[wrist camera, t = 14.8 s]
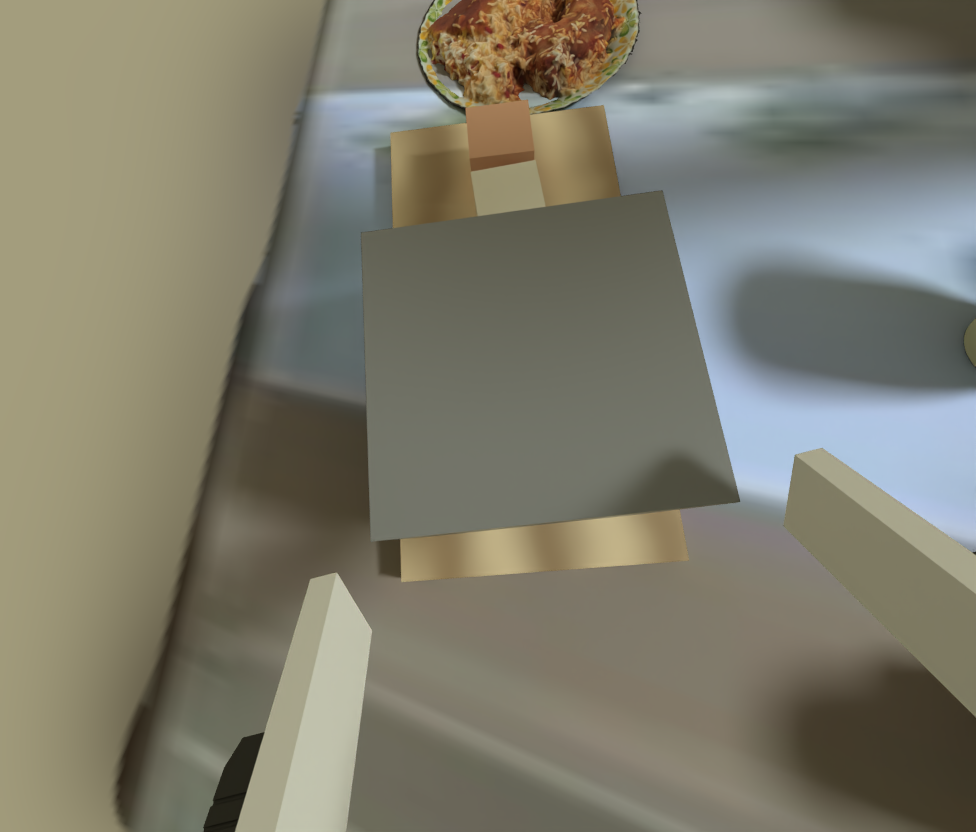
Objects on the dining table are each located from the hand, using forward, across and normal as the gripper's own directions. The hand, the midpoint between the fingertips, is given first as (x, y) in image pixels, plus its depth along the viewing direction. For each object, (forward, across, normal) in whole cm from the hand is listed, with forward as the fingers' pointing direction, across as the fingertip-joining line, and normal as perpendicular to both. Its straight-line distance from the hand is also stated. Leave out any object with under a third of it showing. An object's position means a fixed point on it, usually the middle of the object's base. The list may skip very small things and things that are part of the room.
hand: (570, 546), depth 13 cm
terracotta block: (+26, +4, +9) cm, 28 cm away
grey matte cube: (+14, +1, -4) cm, 14 cm away
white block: (+23, +3, +5) cm, 24 cm away
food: (+38, +9, +17) cm, 43 cm away
